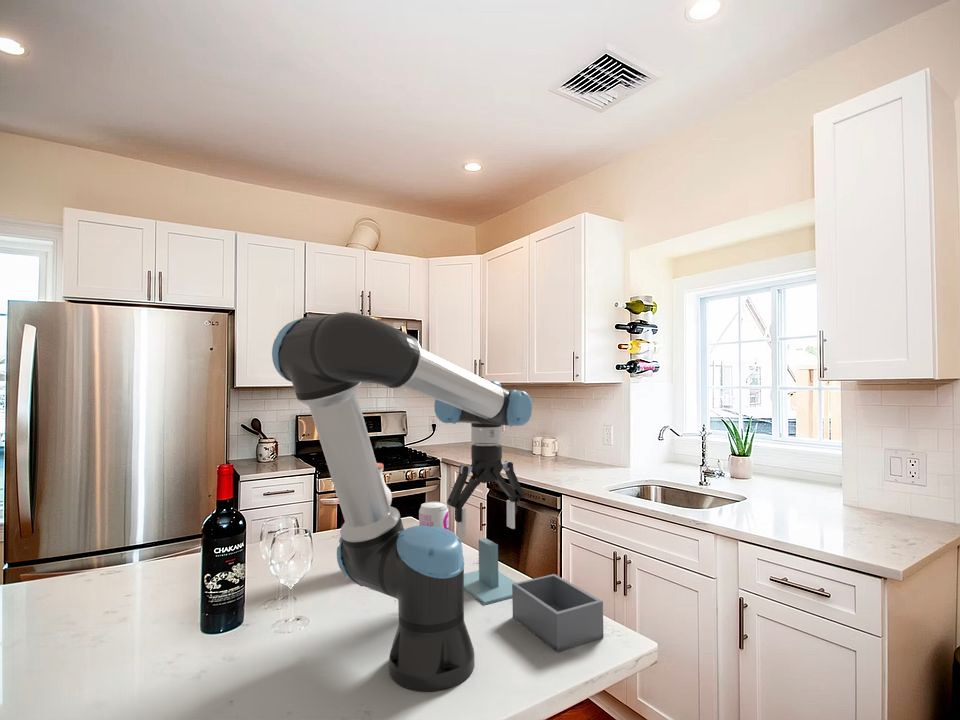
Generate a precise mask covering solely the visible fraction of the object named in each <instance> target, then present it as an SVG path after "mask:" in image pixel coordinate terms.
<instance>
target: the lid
mask: <svg viewBox="0 0 960 720" xmlns="http://www.w3.org/2000/svg"><path fill="white" fill-rule="evenodd" d="M514 583H517V582H516V581H515V580H513V579H512V578H510V577H509V576H507V575H505V574H504V573H502V572H500V571H499V544H498V543H495V542H494V541H493V540H490V539H488V538H486V537H483V538H478V570H474V571H470V572H465V573H464V591H466V592H467V593H468V594H469V595H471V596H472V597H473V598H474V599H476V600H478V601H479V602H480V603H481V604H483V606H487V605H490V604H494V603H497V602H498V603H499V602H502V601H506V600H508V599H509V600H510V599H512V584H514Z"/></svg>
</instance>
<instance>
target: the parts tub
mask: <svg viewBox="0 0 960 720" xmlns="http://www.w3.org/2000/svg"><path fill="white" fill-rule="evenodd" d="M511 599H512V600H511V601H512V603H511V604H512V618H513V619H514V620H515V621H517V622H518V623H519V624H521V625H523V627H525V628H526V629H527V630H528V631H529V632H531V633H532V634H534V635H535V636H536V637H538V639H540V640H541V641H542V642H544V643H545V644H547V645H548V646H549V647H550V648H551V649H552V650H554V651H555V652H556V653H560V652H564V651H566V650H569V649H574V648H577V647H579V646H581V645H585V644H587V643H591V642H593V641H594V642H595V641H597V640H600V639H603V638H604V602H603V600H601V599H599V598H598V597H596V596H594V595H593V594H591V593H589V592H587V591H585V590H584V589H582V588H580V587H579V586H577V585H575V584H573V583H572V582H570V581H568V580H566V579H565V578H562V577H561V576H559V575H558V574H555V573H552V574H547V575H545V576H540V577H535V578H531V579H527V580H524V581H518V582H516V583H514V584H512V598H511Z"/></svg>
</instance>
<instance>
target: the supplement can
mask: <svg viewBox="0 0 960 720" xmlns="http://www.w3.org/2000/svg"><path fill="white" fill-rule="evenodd" d="M449 512H450V511H449V508H448V505H447V502H446V503H445V502H442V501H427V502H424V503H421V505H420V508H419V510H418V520H419V521H418V523H419V524H418V526H422V525H427V526H429V527H432V526H437V527H441V528H444V529H447V530H449V531H450V529H449V528H450V527H449V526H450V524H449V523H450V522H449V514H450V513H449Z"/></svg>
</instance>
